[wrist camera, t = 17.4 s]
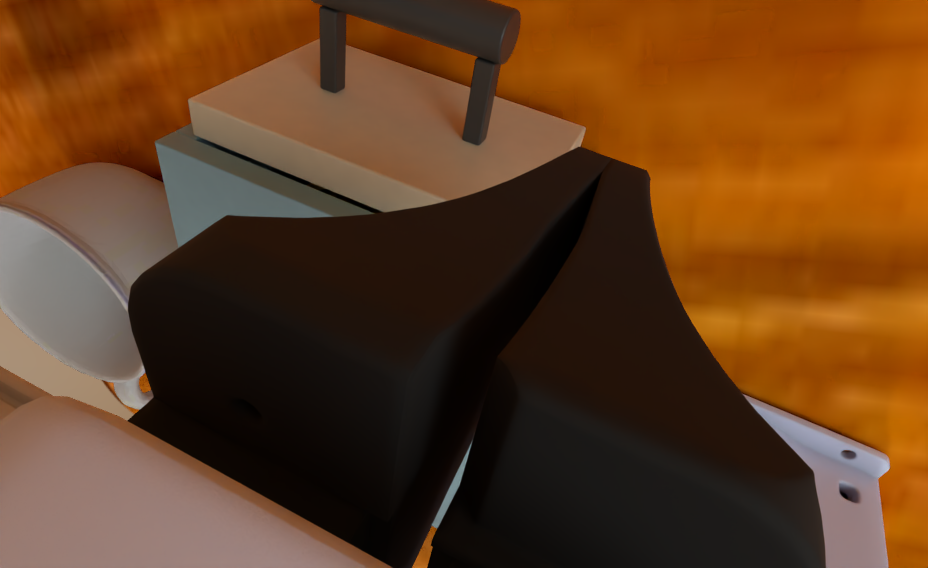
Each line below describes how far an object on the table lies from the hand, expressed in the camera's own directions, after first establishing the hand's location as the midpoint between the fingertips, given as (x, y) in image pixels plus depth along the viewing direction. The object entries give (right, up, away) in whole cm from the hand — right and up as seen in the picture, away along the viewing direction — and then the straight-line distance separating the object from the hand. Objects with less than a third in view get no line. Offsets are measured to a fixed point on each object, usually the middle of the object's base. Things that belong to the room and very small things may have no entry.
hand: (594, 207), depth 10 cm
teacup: (-19, +1, +25) cm, 32 cm away
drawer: (-4, +3, +13) cm, 14 cm away
